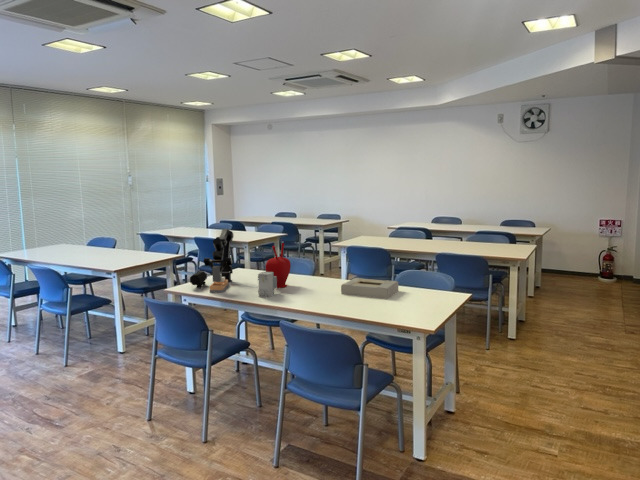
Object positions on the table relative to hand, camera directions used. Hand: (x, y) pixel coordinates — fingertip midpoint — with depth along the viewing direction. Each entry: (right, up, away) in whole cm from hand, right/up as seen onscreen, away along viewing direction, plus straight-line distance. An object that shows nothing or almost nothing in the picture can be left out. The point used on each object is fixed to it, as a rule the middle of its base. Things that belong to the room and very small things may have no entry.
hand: (216, 271), depth 315 cm
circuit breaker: (+36, -14, -9) cm, 40 cm away
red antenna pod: (+42, -11, +14) cm, 45 cm away
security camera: (-16, -12, +17) cm, 26 cm away
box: (+103, -14, -9) cm, 105 cm away
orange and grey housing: (0, -13, +9) cm, 15 cm away
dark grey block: (0, -6, +2) cm, 7 cm away
